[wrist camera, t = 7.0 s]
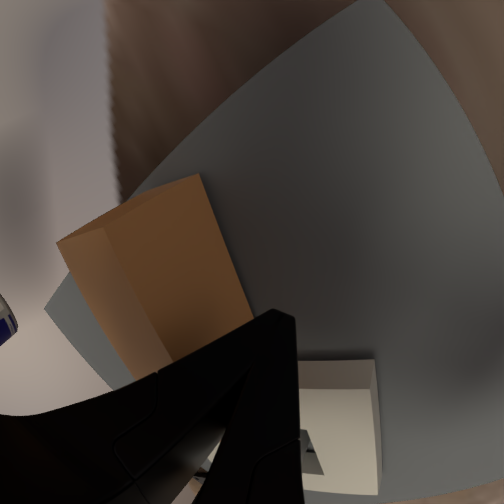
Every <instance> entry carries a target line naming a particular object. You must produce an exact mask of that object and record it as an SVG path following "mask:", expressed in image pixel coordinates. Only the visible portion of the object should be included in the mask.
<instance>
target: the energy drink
mask: <svg viewBox="0 0 504 504" xmlns="http://www.w3.org/2000/svg"><path fill="white" fill-rule="evenodd" d="M17 328H18V324H17V321H16V319H15V316H14V315H13V313H12V311H11V309H10V307H9V306H8V304H7V303H6V301H5V299H4V298H3V297H2V295H1V294H0V346H1V345H2V344H3V343H5V342H6V341H7V340H8V339H9V338H10V337H11V336H13V335H14V334H15V333H16V332H17Z"/></svg>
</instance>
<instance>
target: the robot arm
mask: <svg viewBox="0 0 504 504" xmlns="http://www.w3.org/2000/svg"><path fill="white" fill-rule="evenodd" d="M300 437H301V435H300V400H299V374H298V352H297V333H296V319H295V317H294V316H292V315H290V314H287V313H285V312H282V311H280V310H277V309H275V308H271V309H269V310H268V311H266V312H264V313H262V314H261V315H259V316H257V317H255V318H254V319H252V320H250V321H248V322H247V323H245V324H243V325H241V326H239V327H238V328H236V329H234V330H232V331H231V332H229V333H227V334H225V335H223V336H221V337H220V338H218V339H216V340H214V341H212V342H210V343H209V344H207V345H205V346H203V347H201V348H199V349H197V350H196V351H194V352H192V353H190V354H188V355H186V356H184V357H182V358H180V359H179V360H177V361H175V362H173V363H171V364H169V365H167V366H165V367H163V368H161V369H159V370H158V371H157V373H156V372H153V373H151V374H149V375H147V376H145V377H143V378H141V379H139V380H137V381H135V382H132V383H130V384H128V385H126V386H124V387H121V388H119V389H116V390H114V391H111V392H108V393H105V394H103V395H100V396H97V397H94V398H91V399H88V400H85V401H82V402H79V403H75V404H72V405H69V406H66V407H62V408H59V409H55V410H52V411H48V412H45V413H41V414H36V415H29V416H10V415H1V414H0V504H171V503H172V502H173V500H174V499H175V498H176V497H177V496H178V494H179V493H180V492H181V491H182V489H183V488H184V487H185V486H186V485H187V483H188V482H189V481H190V479H191V478H192V477H193V478H194V479H195V480H197V481H198V482H200V483H201V484H203V485H202V487H201V488H200V490H199V492H198V494H197V495H196V497H195V499H194V500H193V502H192V504H305V498H304V490H303V481H302V464H301V441H300V440H299V439H300ZM220 440H221V442H220ZM219 442H220V444H219V447H218V449H217V451H216V454H215V456H214V459H213V461H212V464H211V466H210V468H209V471H208V473H207V474H200V473H196V472H197V471H198V469H199V468H200V467H201V465H202V464H203V463H204V462H205V460H206V459H207V458H208V456H209V455H210V454H211V452H212V451H213V450H214V448H215V447H216V446H217V444H218V443H219Z"/></svg>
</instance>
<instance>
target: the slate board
mask: <svg viewBox="0 0 504 504" xmlns="http://www.w3.org/2000/svg"><path fill="white" fill-rule="evenodd" d="M198 173H199V175H200V178H201V181H202V183H203V186H204V189H205V191H206V194H207V197H208V200H209V202H210V205H211V208H212V210H213V213H214V216H215V218H216V221H217V224H218V226H219V229H220V232H221V234H222V237H223V239H224V242H225V245H226V247H227V250H228V253H229V255H230V258H231V260H232V263H233V266H234V268H235V271H236V273H237V276H238V279H239V281H240V284H241V286H242V289H243V291H244V294H245V297H246V299H247V302H248V304H249V307H250V309H251V312H252V314H253V317H254V318H255V317H257V316H259V315H261V314H262V313H264V312H266V311H268V310H269V309H271V308H275V309H277V310H280V311H282V312H285V313H287V314H290V315H292V316H294V317H295V319H296V333H297V352H298V361H340V360H368V359H374V360H375V369H376V379H377V389H378V401H379V413H380V429H381V449H382V479H381V484H380V488H379V493H378V495H357V494H341V493H330V492H320V491H311V490H304V489H303V490H304V498H305V504H378V503H389V502H398V501H406V500H413V499H419V498H426V497H431V496H437V495H442V494H447V493H451V492H456V491H460V490H464V489H468V488H472V487H476V486H479V485H483V484H486V483H490V482H493V481H496V480H499V479H502V478H504V196H503V193H502V191H501V188H500V186H499V183H498V181H497V178H496V176H495V174H494V171H493V169H492V167H491V164H490V162H489V160H488V158H487V155H486V153H485V151H484V149H483V147H482V145H481V143H480V141H479V139H478V137H477V135H476V133H475V131H474V129H473V127H472V125H471V123H470V121H469V120H468V118H467V116H466V114H465V112H464V111H463V109H462V107H461V105H460V104H459V102H458V100H457V98H456V97H455V95H454V93H453V92H452V90H451V89H450V87H449V85H448V84H447V82H446V81H445V79H444V78H443V76H442V75H441V73H440V72H439V70H438V69H437V67H436V66H435V64H434V63H433V61H432V60H431V58H430V57H429V56H428V54H427V53H426V51H425V50H424V49H423V47H422V46H421V45H420V43H419V42H418V41H417V39H416V38H415V37H414V36H413V34H412V33H411V32H410V30H409V29H408V28H407V27H406V25H405V24H404V23H403V22H402V21H401V19H400V18H399V17H398V16H397V15H396V14H395V12H394V11H393V10H392V9H391V8H390V7H389V6H388V4H387V3H386V2H385V1H384V0H357V1H356V2H354V3H353V4H351V5H350V6H348V7H346V8H345V9H343V10H342V11H340V12H339V13H337V14H336V15H334V16H333V17H331V18H330V19H328V20H327V21H325V22H324V23H322V24H321V25H320V26H318V27H317V28H315V29H314V30H312V31H311V32H310V33H308V34H307V35H306V36H304V37H303V38H301V39H300V40H299V41H297V42H296V43H295V44H293V45H292V46H291V47H289V48H288V49H287V50H285V51H284V52H283V53H282V54H280V55H279V56H278V57H276V58H275V59H274V60H273V61H271V62H270V63H269V64H268V65H266V66H265V67H264V68H263V69H261V70H260V71H259V72H258V73H257V74H255V75H254V76H253V77H252V78H251V79H249V80H248V81H247V82H246V83H245V84H243V85H242V86H241V87H240V88H239V89H238V90H237V91H235V92H234V93H233V94H232V95H231V96H230V97H229V98H227V99H226V100H225V101H224V102H223V103H222V104H221V105H220V106H219V107H217V108H216V109H215V110H214V111H213V112H212V113H211V114H210V115H209V116H208V117H207V118H206V119H204V120H203V121H202V122H201V123H200V124H199V125H198V126H197V127H196V128H195V129H194V130H193V131H192V132H191V133H190V134H189V135H188V136H187V137H186V138H185V139H184V140H183V141H182V142H181V143H180V144H179V145H178V146H177V147H176V148H175V149H174V150H173V151H172V152H171V153H170V154H169V155H168V156H167V157H166V158H165V159H164V160H163V161H162V162H161V163H160V164H159V165H158V166H157V167H156V169H155V170H154V171H153V172H152V173H151V174H150V175H149V176H148V177H147V178H146V179H145V180H144V181H143V183H142V184H141V185H140V186H139V187H138V188H137V189H136V190H135V192H134V193H133V194H132V195H131V196H130V197H129V198H128V199H127V201H128V200H130V199H132V198H134V197H136V196H138V195H139V194H141V193H143V192H145V191H147V190H150V189H153V188H156V187H159V186H162V185H165V184H167V183H170V182H173V181H176V180H179V179H182V178H185V177H188V176H191V175H195V174H198ZM44 309H45V311H46V312H47V313H48V315H49V316H50V317H51V319H52V320H53V321H54V323H55V324H56V325H57V326H58V328H59V329H60V330H61V331H62V333H63V334H64V335H65V336H66V338H67V339H68V340H69V341H70V343H71V344H72V345H73V346H74V347H75V349H76V350H77V351H78V352H79V353H80V354H81V355H82V357H83V358H84V359H85V360H86V361H87V362H88V364H89V365H90V366H91V367H92V368H93V369H94V370H95V371H96V372H97V374H99V376H100V377H101V378H102V379H103V380H104V381H105V382H106V383H107V384H108V385H109V386H110V387H111V388H112V389H113V390H116V389H119V388H121V387H124V386H126V385H128V384H130V383H132V382H135V381H136V380H135V379H134V377H133V376H132V374H131V373H130V371H129V370H128V369H127V367H126V366H125V364H124V363H123V361H122V360H121V358H120V357H119V355H118V354H117V352H116V350H115V349H114V347H113V346H112V344H111V343H110V341H109V339H108V338H107V336H106V335H105V333H104V331H103V330H102V328H101V326H100V325H99V323H98V321H97V320H96V318H95V316H94V315H93V313H92V311H91V309H90V308H89V306H88V304H87V302H86V301H85V299H84V297H83V295H82V293H81V291H80V290H79V288H78V286H77V284H76V282H75V280H74V278H73V276H72V274H71V272H69V273H68V275H67V276H66V277H65V279H64V280H63V282H62V283H61V285H60V286H59V287H58V289H57V290H56V292H55V293H54V294H53V296H52V297H51V299H50V301H49V302H48V303H47V305H46V306H45V308H44ZM300 435H301V437H300V439H299V440H300V441H301V464H302V461H303V459H304V456H305V453H306V452H309V453H316V452H315V450H314V447H313V445H312V442H311V439H310V437H309V434H308V432H307V430H305V429H300ZM211 464H212V463H211V462H210V460H209V459H208V458H207V459H206V460H205V462H204V463H203V464H202V465H201V467H202V468H203V469H204V470H206V471H207V472H208V471H209V468H210V466H211Z"/></svg>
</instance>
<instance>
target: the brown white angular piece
mask: <svg viewBox="0 0 504 504" xmlns="http://www.w3.org/2000/svg"><path fill="white" fill-rule="evenodd" d="M56 244H57V246H58V248H59V250H60V252H61V254H62V256H63V258H64V260H65V262H66V264H67V266H68V268H69V270H70V272H71V274H72V276H73V278H74V280H75V282H76V284H77V286H78V288H79V290H80V291H81V293H82V295H83V297H84V299H85V301H86V302H87V304H88V306H89V308H90V309H91V311H92V313H93V315H94V316H95V318H96V320H97V321H98V323H99V325H100V326H101V328H102V330H103V331H104V333H105V335H106V336H107V338H108V339H109V341H110V343H111V344H112V346H113V347H114V349H115V350H116V352H117V354H118V355H119V357H120V358H121V360H122V361H123V363H124V364H125V366H126V367H127V369H128V370H129V371H130V373H131V374H132V376H133V377H134V379H135V380H136V381H137V380H139V379H141V378H143V377H145V376H147V375H149V374H151V373H153V372H156V373H157V371H158V370H159V369H161V368H163V367H165V366H167V365H169V364H171V363H173V362H175V361H177V360H179V359H180V358H182V357H184V356H186V355H188V354H190V353H192V352H194V351H196V350H197V349H199V348H201V347H203V346H205V345H207V344H209V343H210V342H212V341H214V340H216V339H218V338H220V337H221V336H223V335H225V334H227V333H229V332H231V331H232V330H234V329H236V328H238V327H239V326H241V325H243V324H245V323H247V322H248V321H250V320H252V319H254V317H253V314H252V312H251V309H250V307H249V304H248V302H247V299H246V297H245V294H244V291H243V289H242V286H241V284H240V281H239V279H238V276H237V273H236V271H235V268H234V266H233V263H232V260H231V258H230V255H229V253H228V250H227V247H226V245H225V242H224V239H223V237H222V234H221V232H220V229H219V226H218V224H217V221H216V218H215V216H214V213H213V210H212V208H211V205H210V202H209V200H208V197H207V194H206V191H205V189H204V186H203V183H202V181H201V178H200V175H199V173H198V174H195V175H191V176H188V177H185V178H182V179H179V180H176V181H173V182H170V183H167V184H165V185H162V186H159V187H156V188H153V189H150V190H147V191H145V192H143V193H141V194H139V195H138V196H136V197H134V198H132V199H130V200H128V201H126V202H125V203H123V204H121V205H119V206H117V207H116V208H114V209H112V210H110V211H108V212H107V213H105V214H103V215H101V216H100V217H98V218H97V219H95V220H93V221H91V222H90V223H88V224H86V225H84V226H83V227H81V228H79V229H78V230H76V231H74V232H73V233H71V234H70V235H68V236H66V237H64V238H63V239H61V240H60V241H58V242H57V243H56ZM298 374H299V400H300V429H305V430H307V432H308V434H309V437H310V439H311V442H312V445H313V447H314V450H315V452H316V453H309V452H306V453H305V456H304V459H303V461H302V481H303V489H304V490H311V491H320V492H330V493H341V494H357V495H378V493H379V488H380V484H381V479H382V449H381V429H380V413H379V401H378V389H377V379H376V369H375V360H374V359H368V360H340V361H298ZM220 442H221V440H220ZM220 442H219V443H218V444H217V446H216V447H215V448H214V450H213V451H212V452H211V454H210V455H209V456H208V459H209V460H210V462H211V463H212V461H213V459H214V456H215V454H216V451H217V449H218V447H219V444H220Z"/></svg>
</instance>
